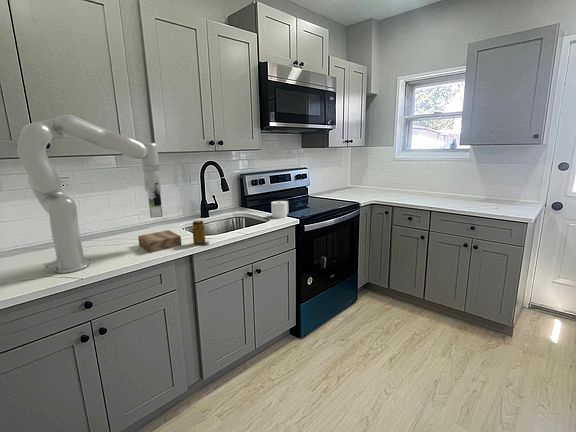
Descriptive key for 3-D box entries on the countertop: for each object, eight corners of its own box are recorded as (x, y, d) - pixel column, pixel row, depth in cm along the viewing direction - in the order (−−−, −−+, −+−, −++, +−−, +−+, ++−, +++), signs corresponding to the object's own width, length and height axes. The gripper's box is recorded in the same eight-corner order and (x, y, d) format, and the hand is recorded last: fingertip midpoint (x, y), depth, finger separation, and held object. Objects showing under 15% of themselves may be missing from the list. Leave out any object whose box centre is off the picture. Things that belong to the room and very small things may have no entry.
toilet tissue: (269, 217, 221) (269, 203, 219) (275, 213, 233) (274, 200, 230) (284, 218, 218) (283, 204, 216) (289, 214, 229) (289, 200, 227)
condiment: (194, 241, 171) (192, 220, 168) (210, 241, 171) (208, 219, 169) (191, 246, 164) (189, 223, 161) (208, 245, 164) (206, 222, 162)
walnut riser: (149, 252, 155) (148, 243, 153) (139, 245, 166) (138, 236, 165) (181, 245, 165) (180, 236, 164) (169, 238, 176) (168, 230, 175)
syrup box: (162, 214, 165) (159, 186, 162) (162, 216, 160) (159, 188, 157) (150, 215, 163) (147, 187, 160) (150, 218, 158) (147, 188, 155)
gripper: (137, 168, 160) (141, 203, 164) (149, 170, 147) (153, 208, 151) (152, 167, 165) (156, 201, 169) (165, 169, 152) (169, 205, 156)
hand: (155, 204), depth 160 cm, fingers closed on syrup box, 7 cm apart
